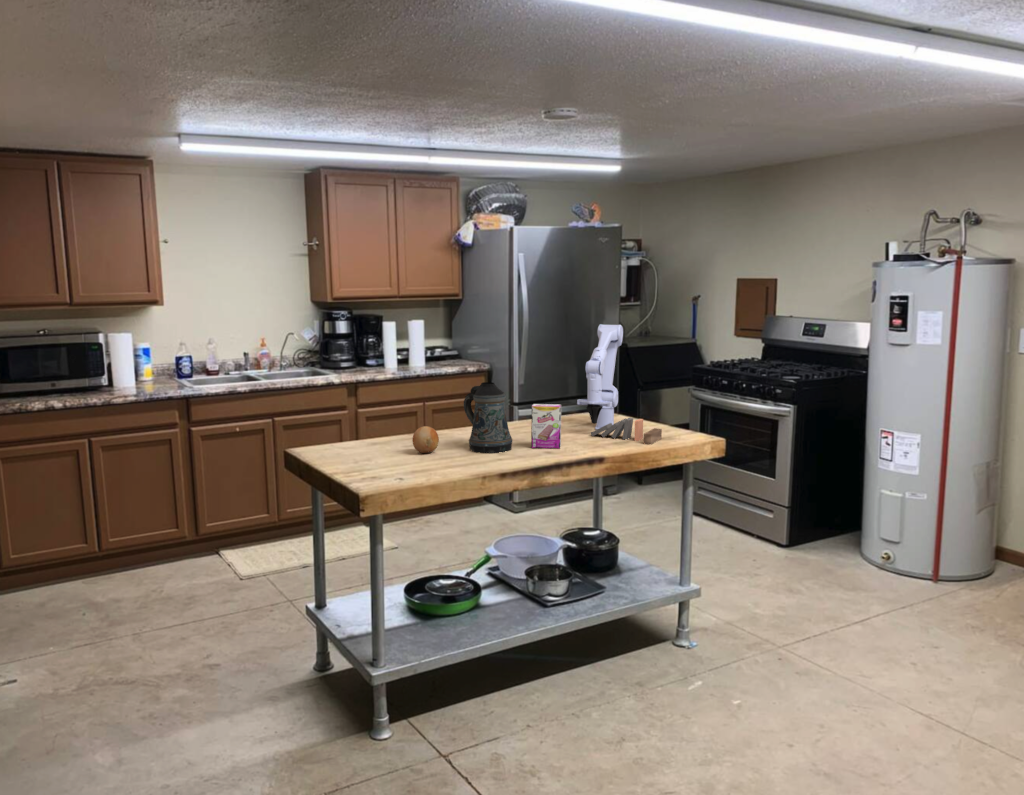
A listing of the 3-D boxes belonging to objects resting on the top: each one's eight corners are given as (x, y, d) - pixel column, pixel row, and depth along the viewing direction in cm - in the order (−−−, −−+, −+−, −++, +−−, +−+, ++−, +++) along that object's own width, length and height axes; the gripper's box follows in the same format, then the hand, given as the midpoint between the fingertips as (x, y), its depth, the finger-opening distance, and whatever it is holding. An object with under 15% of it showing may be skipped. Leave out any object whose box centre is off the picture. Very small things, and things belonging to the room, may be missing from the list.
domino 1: (590, 432, 324) (606, 424, 320) (595, 430, 328) (611, 422, 324) (592, 436, 323) (608, 428, 319) (597, 434, 328) (613, 426, 324)
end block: (643, 443, 309) (643, 433, 308) (654, 438, 319) (654, 428, 319) (650, 444, 308) (651, 434, 307) (661, 438, 318) (661, 428, 317)
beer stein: (508, 454, 294) (508, 386, 290) (456, 452, 297) (455, 386, 293) (515, 444, 310) (515, 380, 306) (466, 443, 313) (465, 379, 309)
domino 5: (634, 440, 315) (634, 420, 313) (639, 438, 319) (639, 418, 318) (638, 441, 314) (638, 421, 313) (642, 438, 318) (643, 419, 317)
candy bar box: (531, 448, 303) (530, 405, 300) (532, 445, 307) (531, 403, 305) (560, 449, 301) (560, 406, 299) (561, 446, 306) (561, 403, 304)
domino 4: (622, 439, 317) (625, 419, 315) (627, 436, 321) (629, 417, 320) (626, 440, 316) (628, 420, 315) (630, 437, 321) (633, 418, 319)
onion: (419, 457, 290) (419, 430, 289) (408, 452, 299) (407, 425, 297) (443, 453, 295) (443, 427, 294) (431, 448, 304) (431, 422, 302)
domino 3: (611, 436, 319) (621, 420, 316) (616, 434, 324) (625, 418, 320) (614, 438, 319) (624, 422, 316) (619, 436, 323) (629, 420, 320)
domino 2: (600, 434, 321) (615, 423, 318) (605, 432, 326) (619, 420, 322) (603, 437, 321) (617, 426, 317) (608, 435, 325) (622, 424, 322)
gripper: (574, 390, 323) (573, 423, 325) (607, 392, 316) (606, 426, 318) (581, 387, 329) (581, 420, 331) (614, 390, 322) (613, 423, 324)
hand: (594, 423), depth 325 cm, fingers closed
